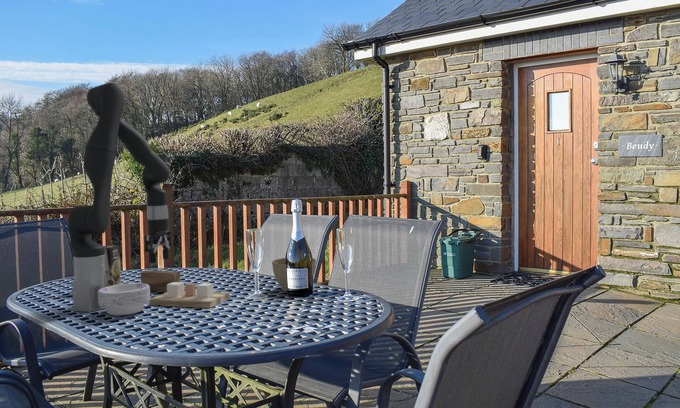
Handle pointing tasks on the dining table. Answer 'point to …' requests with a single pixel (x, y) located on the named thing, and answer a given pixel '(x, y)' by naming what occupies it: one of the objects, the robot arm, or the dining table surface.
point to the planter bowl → (284, 271)
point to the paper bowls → (124, 298)
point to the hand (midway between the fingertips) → (159, 261)
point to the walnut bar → (159, 279)
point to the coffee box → (112, 265)
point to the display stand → (190, 296)
